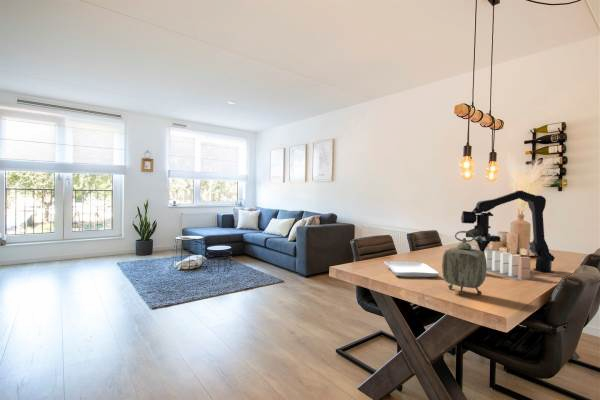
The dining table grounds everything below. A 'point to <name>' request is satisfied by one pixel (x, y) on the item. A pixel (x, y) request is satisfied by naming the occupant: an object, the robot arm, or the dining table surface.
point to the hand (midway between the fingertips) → (481, 252)
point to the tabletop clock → (464, 266)
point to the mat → (508, 275)
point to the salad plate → (411, 269)
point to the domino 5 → (524, 268)
